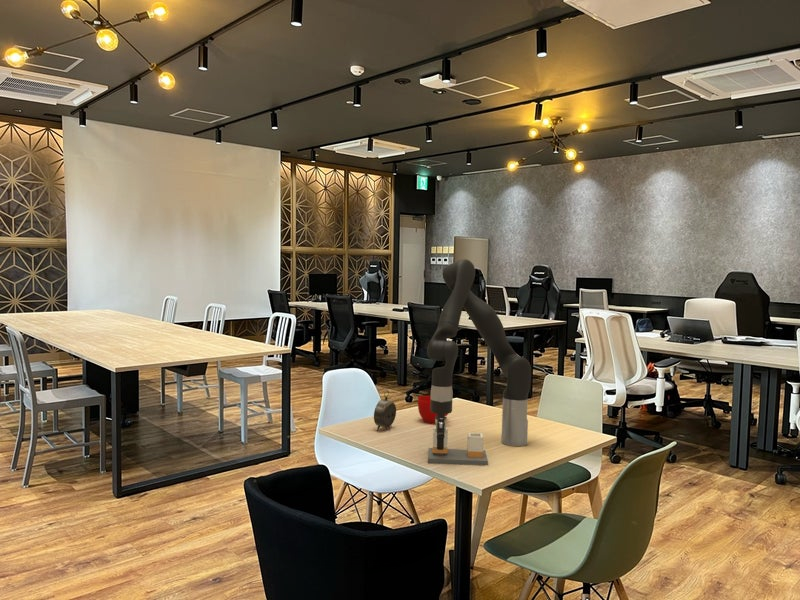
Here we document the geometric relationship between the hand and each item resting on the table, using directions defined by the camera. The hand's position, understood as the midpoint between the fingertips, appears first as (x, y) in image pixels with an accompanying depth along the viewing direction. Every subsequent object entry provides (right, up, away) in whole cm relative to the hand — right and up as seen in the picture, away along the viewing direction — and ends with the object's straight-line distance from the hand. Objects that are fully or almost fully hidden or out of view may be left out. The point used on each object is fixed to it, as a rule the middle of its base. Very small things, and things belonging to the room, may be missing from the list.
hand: (440, 446), depth 203 cm
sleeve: (0, -1, 0) cm, 1 cm away
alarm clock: (-20, -2, +35) cm, 41 cm away
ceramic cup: (+1, -2, +48) cm, 48 cm away
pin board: (+6, -4, 0) cm, 7 cm away
